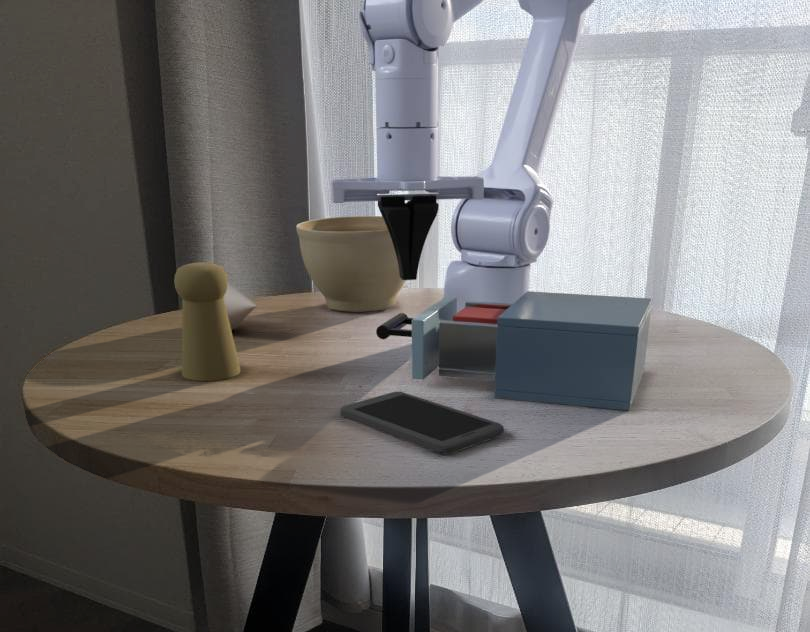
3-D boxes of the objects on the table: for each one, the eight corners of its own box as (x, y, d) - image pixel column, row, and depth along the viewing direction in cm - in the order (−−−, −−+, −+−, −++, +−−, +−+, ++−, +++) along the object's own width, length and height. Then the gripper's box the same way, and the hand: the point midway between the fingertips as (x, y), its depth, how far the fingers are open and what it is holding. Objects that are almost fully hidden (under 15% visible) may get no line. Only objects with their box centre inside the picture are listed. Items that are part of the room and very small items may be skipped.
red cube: (451, 361, 87) (452, 315, 84) (464, 350, 90) (465, 306, 88) (495, 365, 85) (497, 319, 83) (506, 353, 89) (508, 309, 87)
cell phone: (397, 397, 82) (397, 389, 82) (508, 434, 73) (508, 425, 73) (336, 415, 78) (336, 406, 78) (446, 456, 69) (446, 447, 68)
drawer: (367, 374, 86) (365, 316, 84) (404, 347, 96) (404, 293, 93) (527, 389, 82) (530, 328, 79) (550, 358, 91) (554, 302, 89)
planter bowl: (363, 289, 130) (361, 212, 125) (443, 305, 119) (443, 221, 114) (277, 306, 119) (271, 223, 115) (356, 325, 109) (353, 234, 104)
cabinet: (494, 397, 82) (497, 317, 79) (522, 363, 93) (526, 291, 90) (629, 411, 79) (639, 326, 75) (643, 373, 89) (652, 298, 86)
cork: (250, 367, 92) (241, 260, 88) (222, 383, 87) (210, 270, 82) (201, 362, 94) (188, 257, 89) (170, 378, 89) (155, 267, 84)
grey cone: (259, 344, 100) (201, 341, 112) (289, 304, 102) (228, 305, 113) (222, 307, 97) (165, 308, 108) (253, 266, 98) (194, 271, 109)
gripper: (333, 129, 76) (339, 288, 82) (494, 127, 78) (488, 282, 84) (326, 127, 82) (332, 275, 88) (475, 125, 84) (471, 270, 90)
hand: (408, 278), depth 87 cm, fingers closed
